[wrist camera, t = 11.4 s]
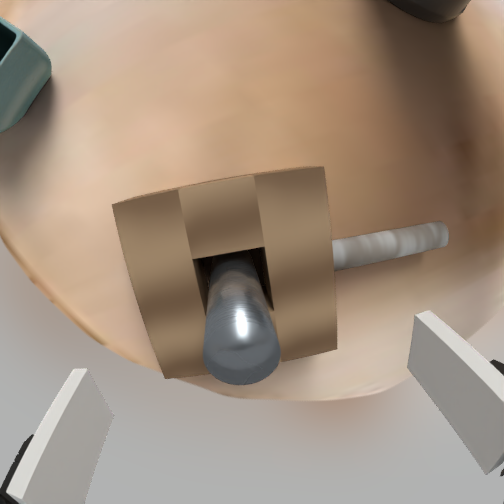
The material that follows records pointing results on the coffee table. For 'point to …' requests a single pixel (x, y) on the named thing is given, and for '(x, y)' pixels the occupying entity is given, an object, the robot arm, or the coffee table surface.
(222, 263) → the grey metal peg
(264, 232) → the block
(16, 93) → the flower pot
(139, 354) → the coffee table surface
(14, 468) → the robot arm
